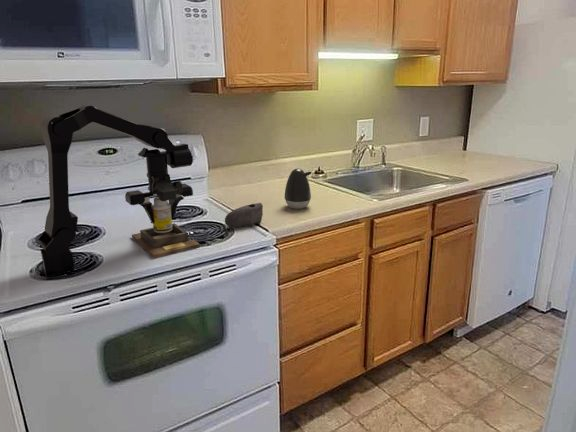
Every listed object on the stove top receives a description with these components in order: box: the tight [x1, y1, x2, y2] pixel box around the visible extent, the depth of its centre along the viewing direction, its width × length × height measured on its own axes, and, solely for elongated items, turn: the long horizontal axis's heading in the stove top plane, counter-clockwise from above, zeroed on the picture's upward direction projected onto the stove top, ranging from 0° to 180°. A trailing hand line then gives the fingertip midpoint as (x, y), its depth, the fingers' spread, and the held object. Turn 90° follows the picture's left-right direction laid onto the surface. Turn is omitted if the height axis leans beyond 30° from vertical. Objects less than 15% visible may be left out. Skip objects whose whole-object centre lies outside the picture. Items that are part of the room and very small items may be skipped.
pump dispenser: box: [283, 168, 312, 210], centre depth 164 cm, size 10×10×15 cm
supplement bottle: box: [152, 197, 173, 233], centre depth 130 cm, size 6×6×10 cm
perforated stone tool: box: [224, 202, 264, 228], centre depth 146 cm, size 15×5×7 cm, turn 122°
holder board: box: [131, 222, 201, 259], centre depth 132 cm, size 14×20×4 cm
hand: (162, 221), depth 130 cm, fingers closed on supplement bottle, 5 cm apart
